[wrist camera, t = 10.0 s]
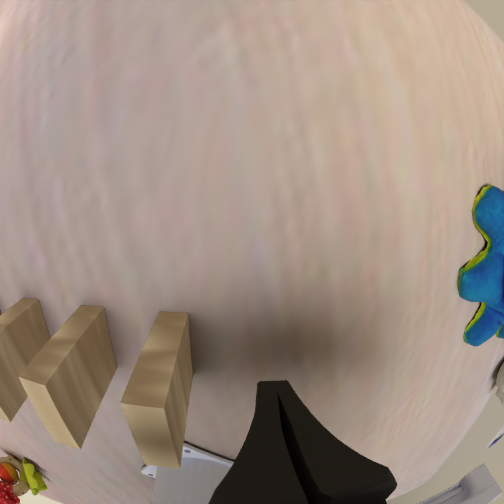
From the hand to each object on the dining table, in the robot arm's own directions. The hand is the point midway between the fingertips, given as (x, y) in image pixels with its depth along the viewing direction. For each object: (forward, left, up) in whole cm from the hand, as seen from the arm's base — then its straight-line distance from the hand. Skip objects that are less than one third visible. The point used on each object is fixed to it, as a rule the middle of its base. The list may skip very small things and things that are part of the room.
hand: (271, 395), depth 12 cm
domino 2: (+8, +6, -4) cm, 11 cm away
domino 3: (+4, +3, -4) cm, 6 cm away
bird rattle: (+10, +41, -4) cm, 42 cm away
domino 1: (+12, +9, -4) cm, 16 cm away
